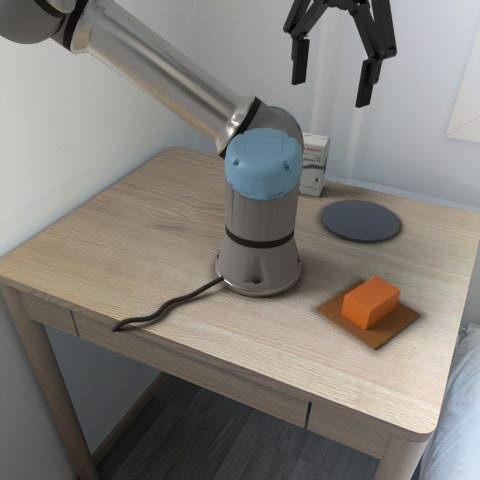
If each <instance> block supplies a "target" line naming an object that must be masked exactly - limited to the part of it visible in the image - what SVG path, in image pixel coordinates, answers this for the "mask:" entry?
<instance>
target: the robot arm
mask: <svg viewBox="0 0 480 480" xmlns="http://www.w3.org/2000/svg"><path fill="white" fill-rule="evenodd" d="M311 1H312V3H311ZM310 4H311V5H310ZM328 8H337V9H339V10H340V11H347V13H348V15H349V16H351V17H352V19H353V21H354V24H355V27H356V29H357V32H358V35H359V38H360V40H361V43H362V46H363V48H364V50H365V53H366V56H367V58H366V59H363V60H362V64H361V69H360V74H359V75H360V76H359V82H358V85H357V86H358V87H357V93H356V97H355V105H354V107H355V108H356V109H361V108H364V107H366V106H369V105H371V100H372V95H373V90H374V85H377V84H378V83H379V81H380V77H381V76H380V75H381V72H382V71H381V70H382V66H383V62H384V61H385V60H387V59H391V58H395V57H397V54H398V48H397V42H396V34H395V26H394V21H393V20H394V19H393V13H392V7H391V1H390V0H370V1H369V0H293V2H292V5H291V7H290V10H289V12H288V15H287V16H286V19H285V22H284V24H283V27H282V30H283V32H284V33H285V34H288V35H290V38H291V41H292V42H291V54H290V59H291V61H292V71H291V82H290V83H291V85H292V86H297V85H301V84H305V83H306V82H307V81H306V80H307V73H308V72H307V71H308V63H309V53H310V45H311V44H310V42H311V39H310V38H308V37H309V33H310V32H311V30H313V28H314V26H315V25H316V24H317V22H318V21H319V20H320V19H321V17H322V16H323V15H324V14H325V12H326V11H327V10H328ZM371 11H372V12H371ZM0 36H1V37H2V38H4V39H5V40H8V41H10V42H12V43H16V44H20V45H34V44H35V45H36V44H40V43H42V42H44V41H47V40H48V39H51V40H53V41H54V42H55V43H56V44H59V45H60V46H61V47H63V48H64V49H66V50H67V51H68V52H70V53H71V54H73V55H80V54H85V53H87V54H89V55H91V56H92V57H94V58H95V59H97V60H98V61H99V62H100V63H102V64H104V65H105V66H107V67H108V68H110V69H111V70H112V71H114V72H115V73H116V74H118V75H120V76H121V77H122V78H123V79H125V80H127V81H128V82H129V83H130V84H132V85H133V86H135V87H136V88H138V89H139V90H141V91H142V92H143V93H145V94H146V95H147V96H149V97H150V98H152V99H153V100H155V101H156V102H158V104H160V105H162V106H163V107H164V108H166V109H168V110H169V111H170V112H171V113H173V114H174V115H176V116H177V117H178V118H180V119H181V120H182V121H184V122H186V123H187V124H188V125H190V126H191V127H193V128H194V129H195V130H197V131H199V133H201V134H203V136H205V137H207V138H208V139H210V140H211V142H213V146H214V152H215V154H216V155H217V156H218V157H220V158H221V159H222V160H223V161H224V162H223V170H224V176H225V178H224V184H225V185H224V186H225V188H224V189H225V191H224V192H225V193H224V195H225V196H224V197H225V199H224V201H225V203H224V204H225V206H224V207H225V208H224V210H225V211H224V215H225V216H224V217H225V218H224V221H225V222H224V224H225V225H224V227H225V229H224V234H223V237H222V240H221V243H220V246H219V249H218V251H217V253H216V256H215V261H214V272H215V276H216V278H215V279H212V280H211V281H209V282H207V283H206V284H204V285H202V286H200V287H199V288H197V289H196V290H193V291H192V292H190V293H187V294H185V295H181V296H177V297H174V298H171V299H169V300H167V301H165V302H164V303H162V305H160V307H159V308H158V309H157V310H156V311H155V312H153V313H152V314H149V315H145V316H133V317H127V318H123V319H121V320H120V321H118V322H117V323H116V324H114V326H113V327H112V329H110V330H111V333H116V332H118V331H119V330H120V329H121V328H122V327H124V326H126V325H128V324H129V325H130V324H135V323H146V322H147V323H148V322H150V321H153V320H156V319H157V318H159V317H160V316H161V315H162V314H164V312H165V311H166V310H167V309H168V308H169V307H171V306H172V305H175V304H178V303H182V302H185V301H188V300H191V299H193V298H195V297H197V296H199V295H200V294H203V293H204V292H205V291H207V290H208V289H210V288H212V287H214V286H216V285H218V284H221V285H222V286H223V287H224V288H226V289H228V290H229V291H231V292H233V293H236V294H239V295H242V296H246V297H255V298H267V297H272V296H273V297H274V296H277V295H280V294H284V293H285V292H287V291H289V290H291V289H292V288H294V286H296V284H297V283H298V282H299V279H300V277H301V270H302V264H301V257H300V255H299V248H298V246H297V242H296V238H295V231H296V229H295V228H296V221H297V214H298V213H297V211H298V204H299V203H298V202H299V194H300V193H299V186H300V177H301V175H302V170H303V159H302V156H303V152H304V139H303V134H302V133H303V131H302V128H301V125H300V123H299V121H298V120H297V118H296V117H295V115H293V113H291V112H290V111H289V110H287V109H286V108H284V107H281V106H279V105H274V104H271V105H268V104H267V103H265V102H264V101H263V100H261V99H260V98H259V97H258V96H256V95H254V94H248V95H243V96H241V95H239V94H238V93H236V92H235V91H234V90H232V89H231V88H230V87H228V86H227V85H226V84H225V83H223V82H222V81H221V80H220V79H218V78H217V77H215V76H214V75H213V74H211V73H210V72H209V71H208V70H206V69H205V68H204V67H202V66H201V65H199V64H198V63H197V62H195V61H194V60H193V59H192V58H190V57H189V56H187V55H186V54H184V52H182V51H181V50H179V49H178V48H177V47H176V46H175V45H173V44H172V43H170V42H169V41H168V40H166V39H165V38H164V37H162V36H161V35H160V34H159V33H157V32H156V31H155V30H153V29H152V28H150V27H149V26H148V25H147V24H145V23H144V22H143V21H141V19H139V18H137V17H136V16H135V15H134V14H132V13H131V12H130V11H128V10H127V9H125V8H124V7H122V6H121V5H120V4H119V3H118V2H116V1H115V0H0Z"/></svg>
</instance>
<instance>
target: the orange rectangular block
mask: <svg viewBox="0 0 480 480" xmlns="http://www.w3.org/2000/svg"><path fill="white" fill-rule="evenodd" d="M401 292H402V289H400V288H399V287H396V285H393V284H392V283H390V282H389V281H387V280H385V279H383V278H381V277H379V276H378V275H375V276H373V277H371V278H369V279H368V280H367V281H365V283H363V284H362V285H360V286H359V287H357V288H356V289H354V290H352V291H351V292H349V293H348V294H346V295H345V297H344V302H343V306H342V311H341V315H343V316H344V317H346V318H348V319H349V320H351V321H352V322H354V323H355V324H357V325H358V326H360V327H361V328H363V329H364V330H366V329H368V328H369V327H371V326H372V325H373V324H375V323H376V322H378V321H379V320H380V319H382V318H383V317H385V316H386V315H387V314H389V313H390V312H392V311H393V310H394V309H396V305H397V302H398V301H399V299H400V296H401Z"/></svg>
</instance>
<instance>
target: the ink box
mask: <svg viewBox="0 0 480 480" xmlns="http://www.w3.org/2000/svg"><path fill="white" fill-rule="evenodd" d="M302 134H303V139H304V152H303V156H302V159H303V170H302V175H301V177H300V186H299V194H301V195H306V196H312V197H320V195H321V193H322V191H323V188H324V184H325V177H326V171H327V165H328V159H329V153H330V146H331V140H332V139H331V138H330V137H329V136H327V135H326V136H325V135H319V134H313V133H309V132H302Z"/></svg>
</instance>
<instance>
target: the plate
mask: <svg viewBox="0 0 480 480" xmlns="http://www.w3.org/2000/svg"><path fill="white" fill-rule="evenodd" d="M320 221H321V224H322V225H323V227H324V228H325V229H326V230H327V231H329V232H330V233H331V234H333V235H334V236H337V237H339V238H342V239H344V240H346V241H351V242H357V243H365V244H366V243H369V244H370V243H381V242H383V241H387V240H390V239H391V238H393V237H395V235H397V233H398V232H399V230H400V225H401V223H400V220H399V218H398V216H397V215H396V213H394V212H393V211H392V210H390V209H389V208H387V207H385V206H384V205H381V204H378V203H376V202H373V201H368V200H362V199H343V200H338V201H334V202H331V203H330V204H328V205H326V206H325V207H324V208H323V209H322V211H321V214H320Z"/></svg>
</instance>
